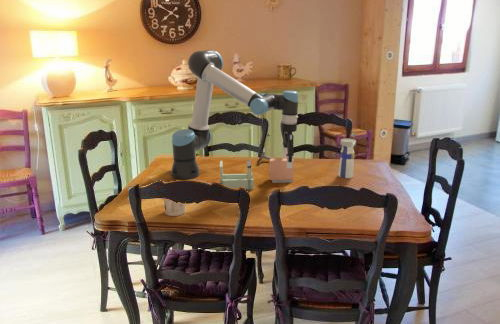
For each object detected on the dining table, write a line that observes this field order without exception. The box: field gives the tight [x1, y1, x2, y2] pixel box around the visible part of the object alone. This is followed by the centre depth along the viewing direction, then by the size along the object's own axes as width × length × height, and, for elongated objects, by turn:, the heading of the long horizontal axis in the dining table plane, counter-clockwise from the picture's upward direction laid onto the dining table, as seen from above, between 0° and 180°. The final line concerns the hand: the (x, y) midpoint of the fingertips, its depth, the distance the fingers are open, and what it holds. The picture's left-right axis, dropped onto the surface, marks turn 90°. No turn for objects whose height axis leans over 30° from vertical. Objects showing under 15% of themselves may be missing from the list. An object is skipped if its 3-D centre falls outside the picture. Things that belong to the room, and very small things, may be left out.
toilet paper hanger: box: [258, 147, 274, 164], centre depth 235 cm, size 23×9×8 cm, turn 177°
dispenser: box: [219, 159, 255, 191], centre depth 201 cm, size 16×9×12 cm, turn 93°
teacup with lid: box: [163, 198, 187, 217], centre depth 171 cm, size 12×9×12 cm
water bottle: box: [337, 131, 357, 179], centre depth 214 cm, size 8×9×25 cm
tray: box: [271, 179, 293, 184], centre depth 212 cm, size 10×8×1 cm
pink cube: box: [268, 158, 295, 181], centre depth 210 cm, size 12×4×10 cm, turn 93°
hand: (287, 163), depth 210 cm, fingers open, 13 cm apart
